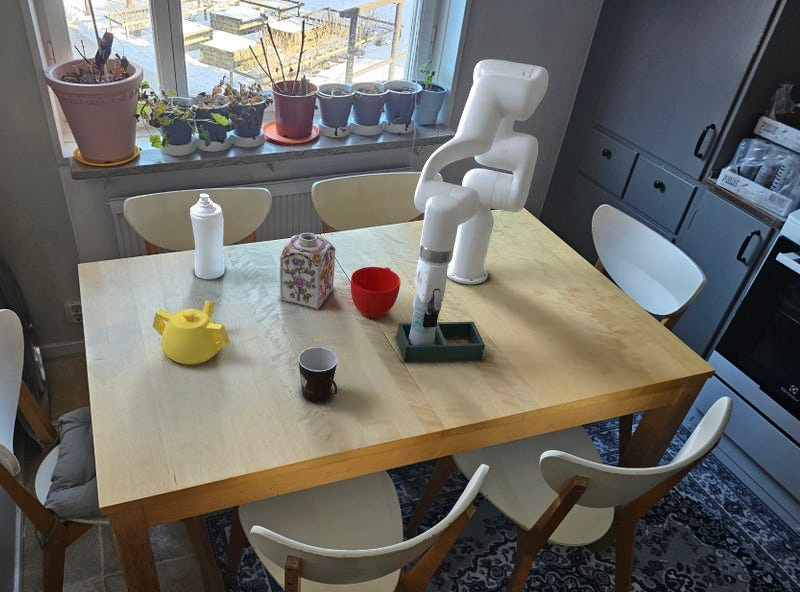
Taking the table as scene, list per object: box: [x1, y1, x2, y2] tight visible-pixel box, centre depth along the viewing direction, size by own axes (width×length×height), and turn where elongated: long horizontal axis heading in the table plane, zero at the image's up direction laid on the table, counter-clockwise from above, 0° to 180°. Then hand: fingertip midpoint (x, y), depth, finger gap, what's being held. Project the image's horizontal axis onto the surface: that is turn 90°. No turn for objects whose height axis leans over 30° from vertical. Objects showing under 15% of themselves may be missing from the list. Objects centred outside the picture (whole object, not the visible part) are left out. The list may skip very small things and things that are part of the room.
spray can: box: [189, 193, 226, 280], centre depth 175 cm, size 12×11×25 cm
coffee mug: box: [297, 346, 339, 404], centre depth 139 cm, size 12×9×10 cm
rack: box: [396, 321, 486, 363], centre depth 157 cm, size 10×19×4 cm, turn 95°
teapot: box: [152, 300, 231, 366], centre depth 153 cm, size 20×18×11 cm
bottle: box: [407, 291, 443, 345], centre depth 152 cm, size 7×7×20 cm
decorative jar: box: [279, 232, 336, 310], centre depth 171 cm, size 12×12×18 cm
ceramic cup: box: [350, 266, 402, 319], centre depth 169 cm, size 13×17×10 cm
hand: (425, 316), depth 152 cm, fingers open, 7 cm apart
